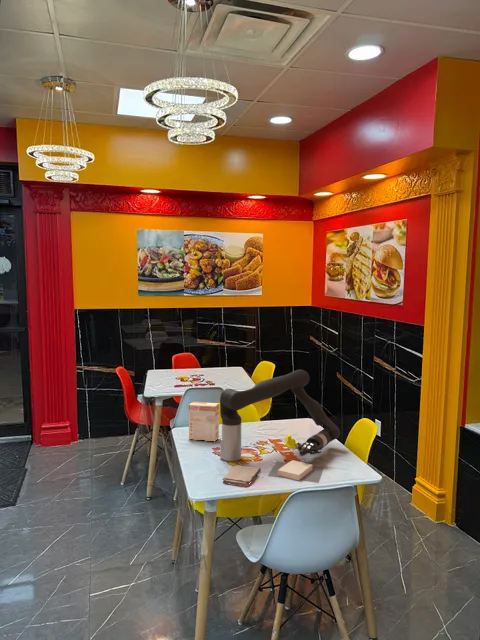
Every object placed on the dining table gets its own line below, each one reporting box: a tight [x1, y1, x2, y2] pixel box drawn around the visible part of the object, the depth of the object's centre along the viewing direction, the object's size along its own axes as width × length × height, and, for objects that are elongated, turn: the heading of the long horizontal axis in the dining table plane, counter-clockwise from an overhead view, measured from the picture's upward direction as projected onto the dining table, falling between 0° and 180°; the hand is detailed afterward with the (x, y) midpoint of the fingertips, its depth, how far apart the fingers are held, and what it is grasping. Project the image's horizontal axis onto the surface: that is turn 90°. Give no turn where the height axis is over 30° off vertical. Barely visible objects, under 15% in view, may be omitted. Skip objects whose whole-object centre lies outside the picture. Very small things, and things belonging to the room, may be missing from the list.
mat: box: [267, 461, 325, 484], centre depth 210 cm, size 22×18×1 cm
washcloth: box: [222, 464, 261, 488], centre depth 205 cm, size 12×18×3 cm, turn 161°
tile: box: [278, 459, 313, 482], centre depth 208 cm, size 10×2×14 cm
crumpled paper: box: [283, 433, 300, 450], centre depth 243 cm, size 6×8×8 cm
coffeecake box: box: [188, 401, 220, 443], centre depth 255 cm, size 15×7×20 cm, turn 76°
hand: (301, 453), depth 213 cm, fingers closed
